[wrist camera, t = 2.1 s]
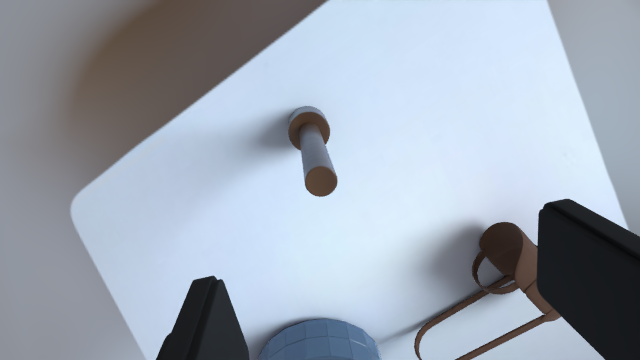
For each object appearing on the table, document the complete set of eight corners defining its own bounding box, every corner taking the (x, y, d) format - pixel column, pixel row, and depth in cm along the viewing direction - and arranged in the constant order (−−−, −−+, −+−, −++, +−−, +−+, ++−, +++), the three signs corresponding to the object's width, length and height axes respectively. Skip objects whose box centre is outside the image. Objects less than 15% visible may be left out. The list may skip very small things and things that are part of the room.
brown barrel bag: (499, 207, 38) (542, 240, 32) (553, 268, 42) (601, 308, 35) (376, 308, 42) (392, 356, 35) (435, 356, 45) (460, 408, 39)
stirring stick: (290, 145, 34) (291, 214, 20) (286, 107, 32) (285, 153, 18) (327, 142, 34) (354, 208, 20) (325, 104, 33) (352, 147, 19)
